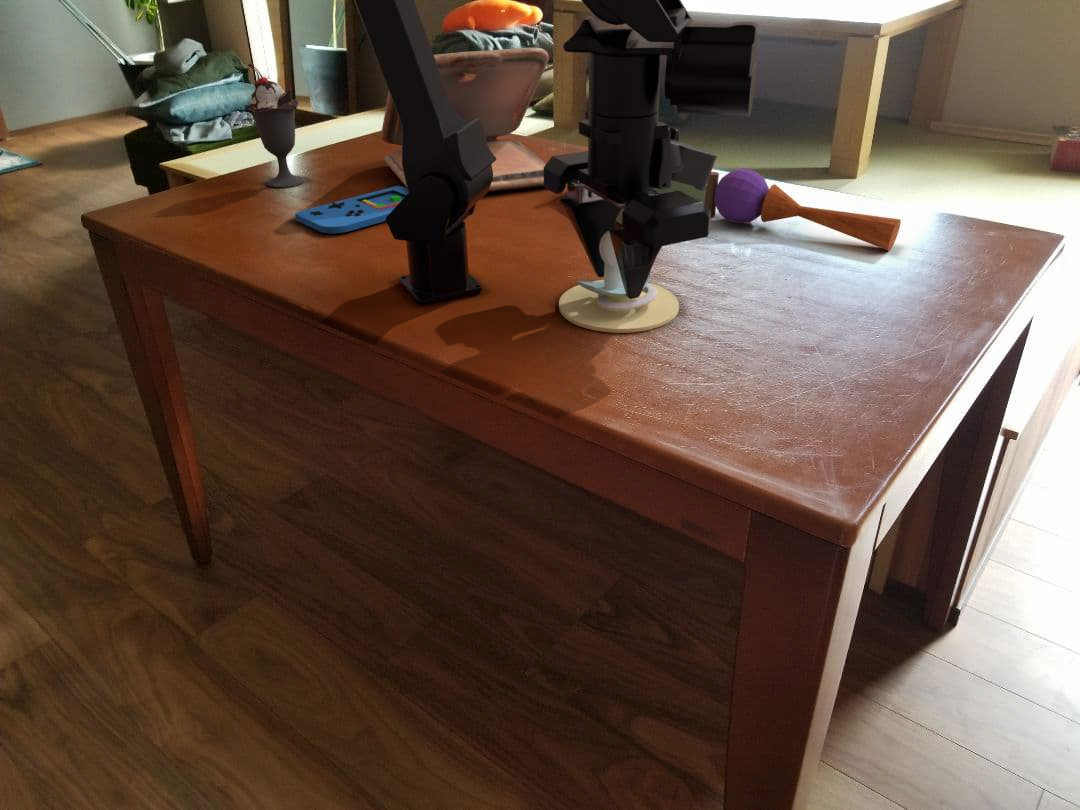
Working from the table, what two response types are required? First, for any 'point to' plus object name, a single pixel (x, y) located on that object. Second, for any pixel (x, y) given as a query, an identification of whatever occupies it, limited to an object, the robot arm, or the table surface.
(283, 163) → the sundae
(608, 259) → the pacifier
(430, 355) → the table surface
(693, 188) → the rack
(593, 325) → the coaster
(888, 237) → the kendama
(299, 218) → the handheld gaming device
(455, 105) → the case
